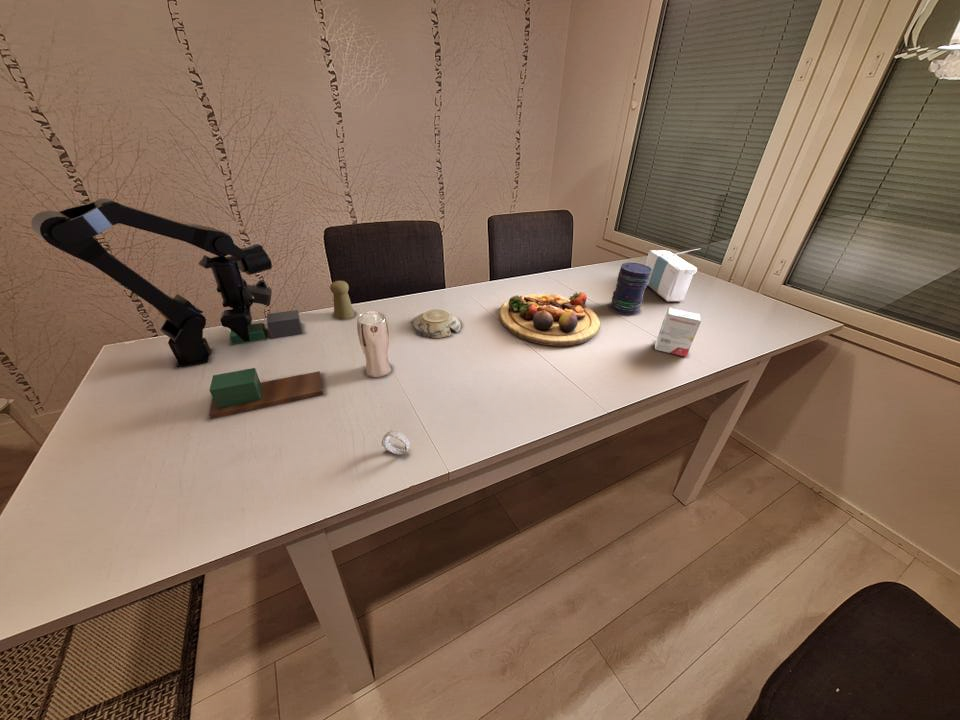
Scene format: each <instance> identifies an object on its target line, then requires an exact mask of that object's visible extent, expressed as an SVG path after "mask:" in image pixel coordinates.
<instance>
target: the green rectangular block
mask: <svg viewBox="0 0 960 720" xmlns="http://www.w3.org/2000/svg"><path fill="white" fill-rule="evenodd" d="M248 331H249V341H247V342H245V341H244V340H242V339H241V338H240V337H239V336H238V335H237V334H235V333H234V332H233V331H232V330H230V332H229V340H230V342H231V345H239V344H245V343H251V342H252V343H253V342H258V341H264V340H266V337H267V328H266V326H265V323H264V322H258V323H251V324H250V325H248Z"/></svg>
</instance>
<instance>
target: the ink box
mask: <svg viewBox="0 0 960 720" xmlns="http://www.w3.org/2000/svg"><path fill="white" fill-rule="evenodd" d="M701 323H702V318H701V314H699V313H695V312H690V311H685V310H680V309H676V308H672V307H668V308H667V310H666V312H665V314H664V318H663V321H662V324H661V327H660V329H659V332H658V335H657V336H656V337H657V338H656V341H655V343H654V349H655V351H661V352H664V353H669V354H673V355H677V356H680V357H687V356H688V354H689V351H690V348H691V346H692V344H693V341H694V339H695V337H696V334H697V332H698V330H699V327H700V325H701Z"/></svg>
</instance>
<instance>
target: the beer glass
mask: <svg viewBox="0 0 960 720" xmlns="http://www.w3.org/2000/svg"><path fill="white" fill-rule="evenodd" d="M356 329H357V336H358V342H359V344H360V348H361V350H362V352H363V356H364V359H365V363H366V364H365V373H366V375H367V376H369V377H371V378H383V377H386V376H387V375H389V373H390V372H391V371H392V368H391V364H390V362H389V345H390V333H389V332H390V331H389V327H388V321H387V315H386V314H385V313H384V312H380V311H376V310H375V311H373V310H371V311H365V312H363V313H360V314H358V315H357V317H356Z"/></svg>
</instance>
